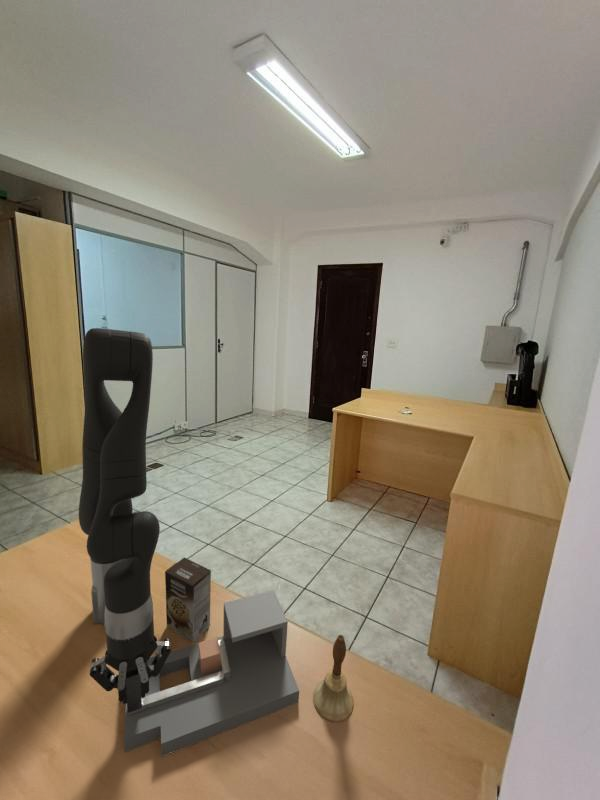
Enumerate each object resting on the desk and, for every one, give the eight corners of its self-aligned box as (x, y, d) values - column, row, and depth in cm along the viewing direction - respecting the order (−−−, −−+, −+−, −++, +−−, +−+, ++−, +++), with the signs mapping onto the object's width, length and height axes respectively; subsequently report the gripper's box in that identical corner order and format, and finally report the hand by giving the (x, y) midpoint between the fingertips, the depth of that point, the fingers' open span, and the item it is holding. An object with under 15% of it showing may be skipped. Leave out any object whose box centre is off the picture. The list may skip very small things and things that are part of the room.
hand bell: (357, 689, 75) (365, 627, 71) (347, 730, 67) (355, 663, 63) (320, 673, 77) (326, 613, 74) (307, 710, 70) (312, 645, 66)
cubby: (123, 772, 59) (119, 716, 56) (129, 675, 75) (126, 627, 72) (298, 702, 71) (302, 653, 69) (271, 631, 87) (273, 590, 84)
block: (201, 674, 73) (201, 659, 72) (198, 657, 76) (198, 642, 75) (220, 668, 74) (220, 653, 73) (217, 651, 78) (217, 637, 77)
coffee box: (165, 627, 86) (163, 571, 83) (184, 609, 92) (183, 555, 88) (192, 644, 82) (192, 586, 79) (211, 624, 88) (211, 569, 84)
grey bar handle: (127, 717, 64) (125, 678, 62) (130, 675, 71) (127, 639, 69) (230, 682, 71) (231, 645, 69) (223, 647, 79) (223, 613, 77)
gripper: (171, 593, 67) (173, 665, 71) (87, 613, 62) (94, 689, 66) (173, 625, 60) (175, 702, 64) (79, 650, 55) (88, 733, 59)
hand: (134, 695), depth 65 cm, fingers closed on grey bar handle, 2 cm apart
